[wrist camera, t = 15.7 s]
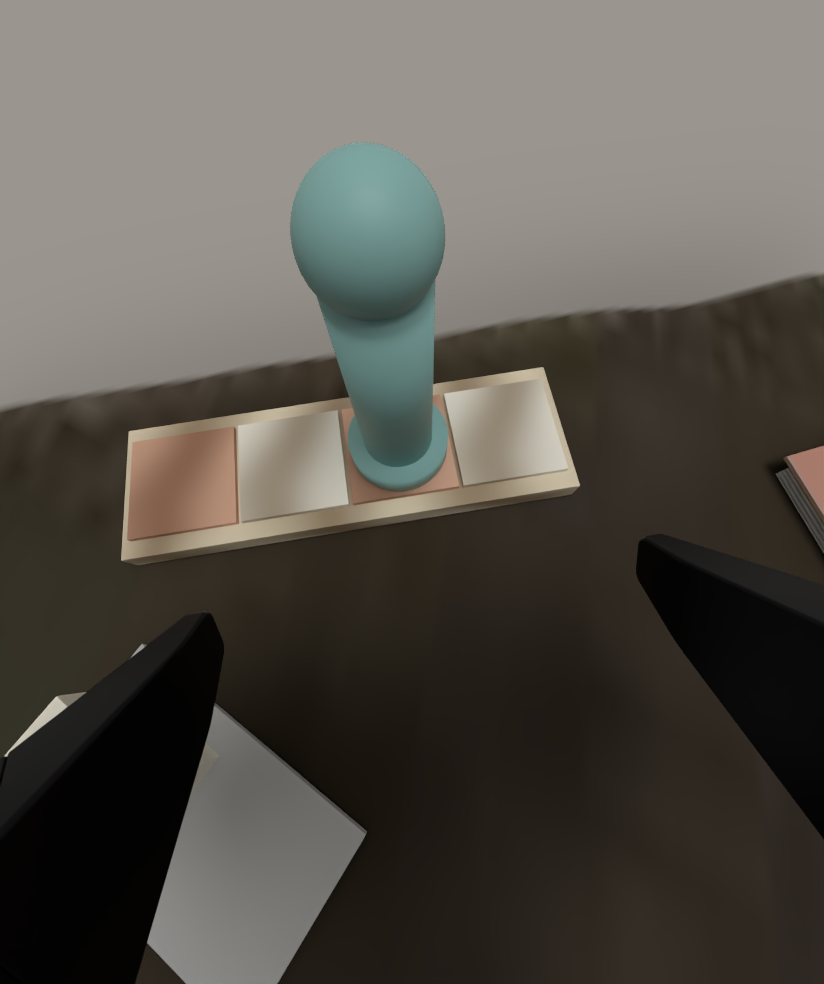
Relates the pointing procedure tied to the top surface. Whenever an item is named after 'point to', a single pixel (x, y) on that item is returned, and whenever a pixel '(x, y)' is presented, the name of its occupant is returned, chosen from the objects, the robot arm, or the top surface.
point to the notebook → (807, 488)
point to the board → (333, 470)
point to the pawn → (378, 302)
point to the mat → (248, 865)
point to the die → (66, 700)
